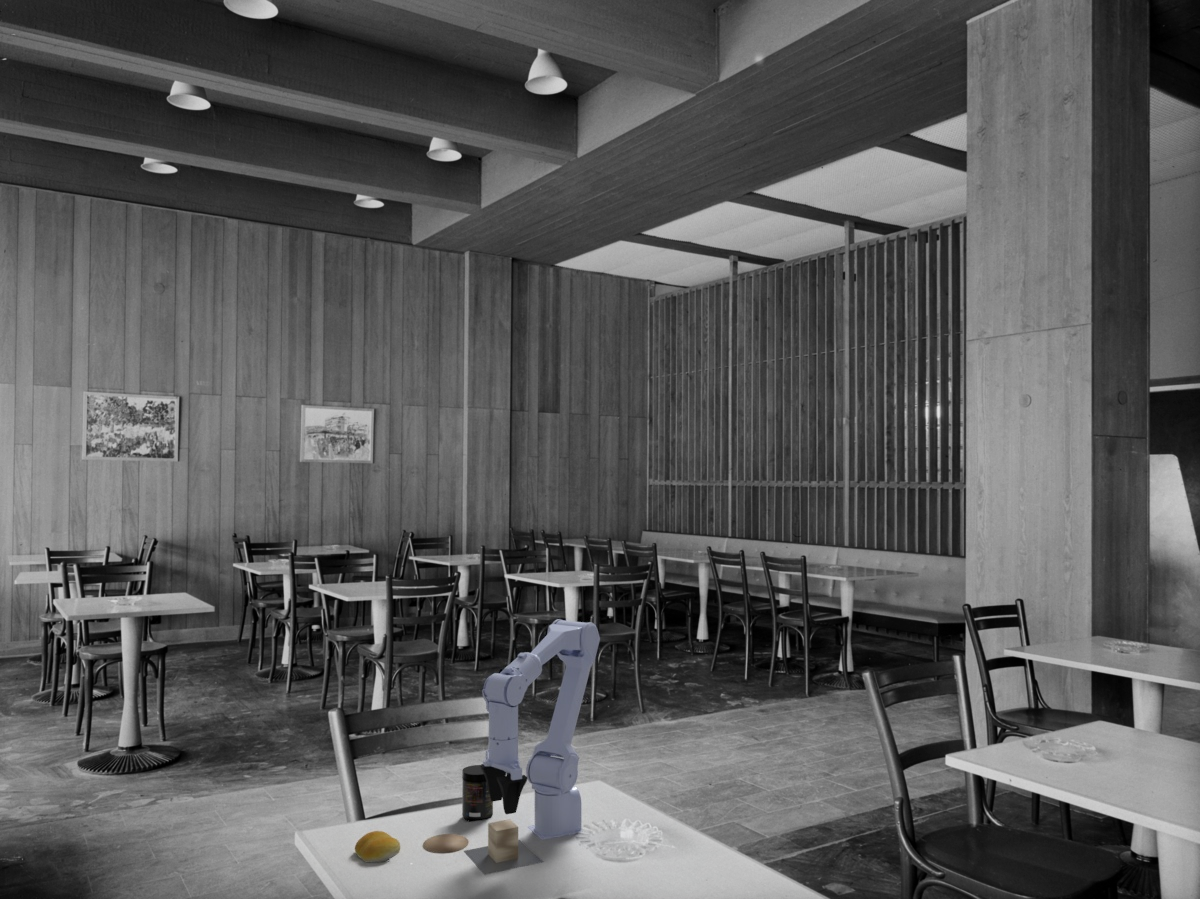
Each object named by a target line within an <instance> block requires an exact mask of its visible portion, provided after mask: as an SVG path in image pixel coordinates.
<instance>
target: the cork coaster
mask: <svg viewBox="0 0 1200 899" xmlns="http://www.w3.org/2000/svg"><path fill="white" fill-rule="evenodd" d="M469 842H470V840H469V839H468V838H467V837H466V836H464V835H461V834H457V833H456V834H455V833H445V834H437V835H433V836H431V837H429V838H427V839H425V840H424V841H423V844H422V846H423V849H424V850H426V851H428V852H430V853H435V854H450V853H456V852H460V851H461V850H464V849H465V848H467V847H468V846H469Z"/></svg>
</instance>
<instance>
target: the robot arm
mask: <svg viewBox="0 0 1200 899" xmlns="http://www.w3.org/2000/svg"><path fill="white" fill-rule="evenodd" d="M600 642H601V637H600V633H599V631H598V627H597V626H596V624H595V623H593V622H590V621H589V622H584V621H582V622H581V621H573V620H563V619H561V618H559V619H558V618H557V619H555V620H554V621H553V622H552V623H551V624H549V625H548V627H547V634H546V636H544V638H543V639H541V640H540V642H539V643H538V644H536V646H535V647H534V649H532V651H531V652H528V651H527V652H526V651H525V652H519V653H518V654H517V657H516V658H515V659H514V660H512V662H510V663H509V664H508V665H507V666H506V667H505V666H504V669H502V671H500V673H498V672H494V673H493V674H491V675H489V676H488V677H487V678H486V679H485V682H484V683H483V684H484V685H483V689H482V690H481V691H482V692H481V693H482V694H481V695H482V697H483V699H484V702H485V706H486V707H485V709H486V711H487V712H488V749H485V759H484V760H483V761H482V763H481V764H479V765H480V767H481V769H482V771H483V773H484V776H485V778H486V782H487V786H488V791H489V796H490V799H491V801H492V802H493V803H494V802H499V801H502V804H503V805H502V806H503V811H504V814H505V815H510V814H516V813H517V811H518V810H517V809H518V805H519V802H520V797H521V793H522V792H523V789H524V787H525V785H526V783H527V781H528V782H529V784H531V790H534V824H533V825H528V826H527V828H528V829H529V830H530V831H531V832H532V833H533V834H534V835H536V836H537V837H538V838H539V839H540V840H547V839H553V838H557V837H562V836H569V835H573V834H574V835H575V834H579V833H583V829H582V796H581V793H580V790H579V788H578V787H577V786H575V785H576V783H577V780H578V774H579V773H578V772H579V771H578V767H579V760H580V757H579V755H578V753H577V752H576V750H575V749H574V747H573V746H572V741H573V738H574V734H575V730H576V726H577V722H578V719H579V714H580V710H581V708H582V707H581V706H582V703H583V699H584V695H585V691H586V688H587V683H588V679H589V676H590V671H591V669H592V665H594V664H595V660H596V656H597V652H598V649H599V644H600ZM556 655H557V658H559V660H561V661H563V663H564V664H565V670H564V674H563V677H562V682H561V684H560V688H559V692H558V696H557V700H556V703H555V707H554V711H553V714H552V717H551V722H550V726H549V730H548V733H547V737H546V738H545V739H544V740H543V741H541V742H540V743H538V744H536V745H535V747H534V749H533V752H532V755H531V756H530V757H529V760H528V762H527V763H526V767H525V768H526V769H525V774H523V768H522V767H521V765H520V764H521V763H520V762H521V761H520V758H519V704H521V703H522V701H523V699H524V697H525V693H526V692H527V690H528V687H529V686H530V685H531V684H532V683H533V682H534V681H535V680H536V679H537V678H538V677H539V676H541V674H542V672H543V665H545V664H546V663H547V662H548V661H550V660H551V659H552V658H553V657H555V656H556Z"/></svg>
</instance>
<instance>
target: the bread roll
mask: <svg viewBox="0 0 1200 899" xmlns="http://www.w3.org/2000/svg"><path fill="white" fill-rule="evenodd" d="M354 850H355V854H356V855H357V857H359V858H360V859H362V861H364V862H365V861H366V863H383V862H387V861H391V858H393V857H395V856H396V855H397V854H399V853H400V851H401V843H400V842H399V840H398V839H397V838H395V837H392V836H391V835H390V834H389V833H387V832H385V831H382V830H380V831H379V830H376V831H375V830H374V831H370V832H367V833H366V834H364V835H363V836H362V837H360V838H359V839H358V840H357V842H355V846H354Z"/></svg>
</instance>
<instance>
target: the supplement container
mask: <svg viewBox="0 0 1200 899" xmlns="http://www.w3.org/2000/svg"><path fill="white" fill-rule="evenodd" d="M480 765H481V764H475V765H474V764H473V765H469V766H466V767H463V769H462V770H461V771H462V774H461V776H462V777H461V779H462V781H461V782H462V784H461V785H462V788H461V789H462V791H461V792H462V794H461V796H462V803H461V806H462V808H461V810H462V812H461V813H462V814H461V816H462V818H463V820H464V821H466V822H468V823H470V822H471V823H473V822H477V821H485V820H488V819H489V820H490V819H491V818H493V815H494V801H493V802H492V801H491V799H490V796H489V791H488V786H487V782H486V778H485V776H484V773H483V771H482V769H481V767H480Z"/></svg>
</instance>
